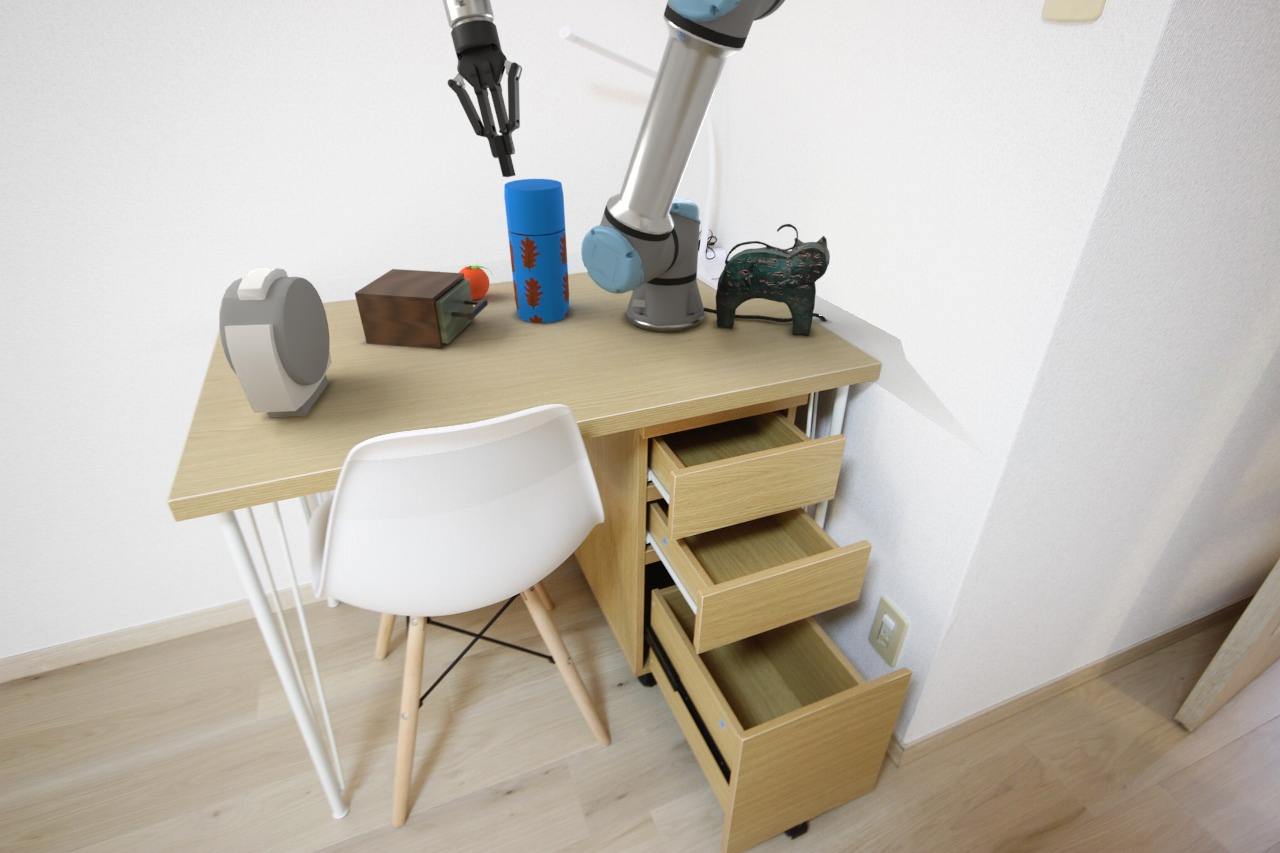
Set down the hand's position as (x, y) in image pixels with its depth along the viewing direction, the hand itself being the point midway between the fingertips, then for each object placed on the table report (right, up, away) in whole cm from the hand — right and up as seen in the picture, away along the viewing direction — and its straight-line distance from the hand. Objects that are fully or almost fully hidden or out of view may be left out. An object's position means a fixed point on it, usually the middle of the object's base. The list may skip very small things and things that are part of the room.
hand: (509, 175), depth 114 cm
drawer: (-15, -26, +8) cm, 31 cm away
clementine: (-12, -17, +25) cm, 32 cm away
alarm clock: (-30, -40, -13) cm, 52 cm away
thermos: (+4, -21, +17) cm, 28 cm away
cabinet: (-19, -26, +9) cm, 33 cm away
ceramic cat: (+47, -26, +11) cm, 55 cm away
